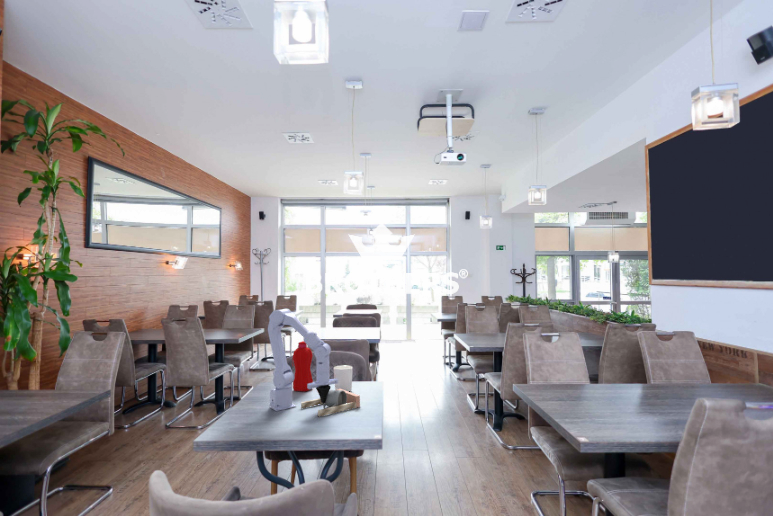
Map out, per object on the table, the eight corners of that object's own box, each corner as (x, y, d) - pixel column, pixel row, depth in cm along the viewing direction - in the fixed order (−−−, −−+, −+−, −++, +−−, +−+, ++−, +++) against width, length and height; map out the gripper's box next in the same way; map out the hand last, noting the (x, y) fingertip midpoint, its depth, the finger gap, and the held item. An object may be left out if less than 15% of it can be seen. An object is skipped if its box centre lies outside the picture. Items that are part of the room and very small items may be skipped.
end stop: (356, 407, 189) (356, 396, 189) (336, 400, 202) (336, 389, 202) (359, 406, 190) (359, 395, 190) (340, 399, 203) (340, 388, 203)
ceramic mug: (332, 403, 196) (332, 386, 196) (347, 405, 192) (347, 388, 192) (318, 410, 186) (318, 393, 186) (334, 413, 182) (333, 395, 183)
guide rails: (319, 417, 177) (319, 410, 177) (301, 408, 190) (301, 402, 190) (356, 407, 189) (356, 402, 189) (336, 400, 202) (336, 394, 202)
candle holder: (356, 391, 216) (355, 367, 217) (338, 394, 211) (338, 370, 212) (348, 387, 225) (347, 364, 225) (330, 390, 220) (330, 366, 220)
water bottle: (296, 386, 228) (296, 339, 229) (315, 388, 225) (314, 340, 226) (287, 391, 219) (287, 342, 220) (306, 392, 216) (306, 343, 217)
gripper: (312, 375, 181) (313, 407, 180) (341, 370, 190) (342, 401, 189) (305, 372, 187) (305, 404, 186) (333, 368, 196) (333, 397, 195)
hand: (323, 402), depth 188 cm, fingers closed
